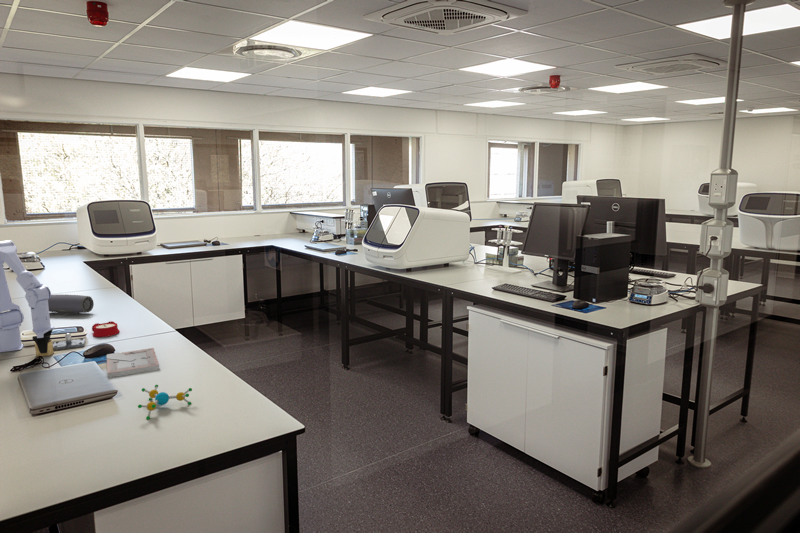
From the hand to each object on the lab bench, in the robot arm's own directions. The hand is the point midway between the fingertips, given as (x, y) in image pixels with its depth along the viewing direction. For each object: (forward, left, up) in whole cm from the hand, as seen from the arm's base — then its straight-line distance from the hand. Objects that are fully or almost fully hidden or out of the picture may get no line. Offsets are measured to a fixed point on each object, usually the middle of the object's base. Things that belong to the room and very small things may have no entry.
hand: (44, 350), depth 202 cm
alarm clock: (+20, +21, -2) cm, 29 cm away
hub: (0, 0, -1) cm, 1 cm away
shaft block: (+7, +8, -1) cm, 11 cm away
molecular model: (+37, -72, -2) cm, 81 cm away
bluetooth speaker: (+3, +67, -2) cm, 67 cm away
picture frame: (+30, -28, -2) cm, 41 cm away
